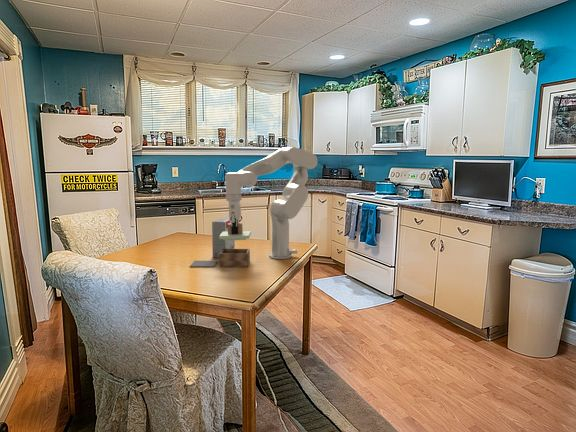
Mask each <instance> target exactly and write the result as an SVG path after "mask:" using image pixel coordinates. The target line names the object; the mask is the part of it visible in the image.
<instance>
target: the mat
mask: <svg viewBox="0 0 576 432" xmlns="http://www.w3.org/2000/svg"><path fill="white" fill-rule="evenodd" d="M217 263H218V260H194V261H192V263H191V264H190V265H189V268H215V267H216V264H217Z"/></svg>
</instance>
